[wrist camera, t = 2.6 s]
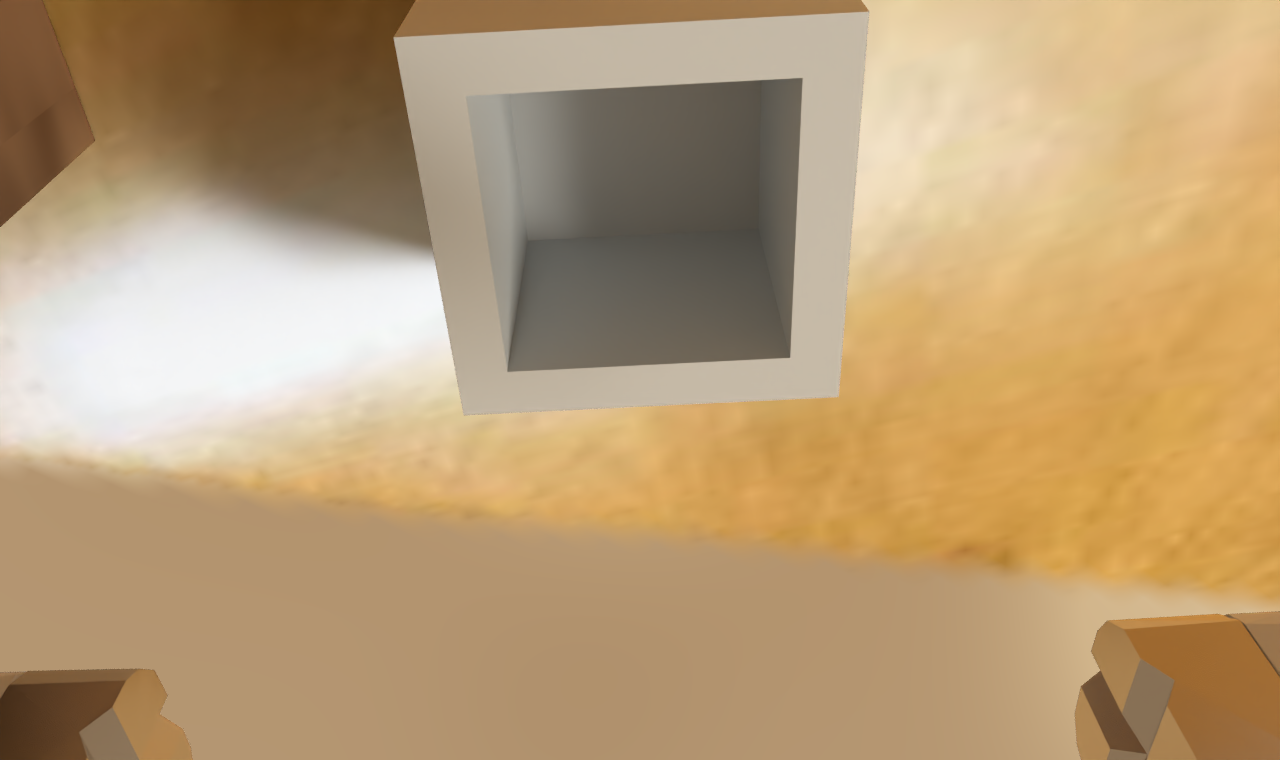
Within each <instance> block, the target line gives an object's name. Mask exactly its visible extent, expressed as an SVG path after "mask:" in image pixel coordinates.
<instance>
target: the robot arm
mask: <svg viewBox="0 0 1280 760" xmlns="http://www.w3.org/2000/svg"><path fill="white" fill-rule="evenodd" d="M1091 652H1092V654H1093V656H1094V658H1095V660H1096V662H1097V664H1098V667H1099V669H1100V671H1099V672H1098V673H1097V674H1096V675H1094V676H1093V677H1092V678H1091V679H1090V680H1089V681H1087V682H1086V683H1085V684H1083V685H1082V686H1081V688H1080V692H1079V697H1078V701H1077V705H1076V710H1075V725H1076V741H1077V747H1078V751H1079V754H1080V758H1081V760H1280V611H1278V612H1259V613H1240V614H1227V615H1220V614H1210V615H1192V616H1175V617H1159V618H1142V619H1126V620H1109V621H1106V622H1105V624H1104V625H1103V626H1102V627H1101V628H1100V629H1099V630H1098V631H1097V634H1096V637H1095V640H1094V643H1093V647H1092V650H1091ZM167 696H168V695H167V693H166V691H165V689H164V687H163V685H162V683H161V681H160V679H159V678H158V676H157V674H156V672H155V670H150V669H101V670H100V669H96V670H50V671H27V672H0V760H193V758H192V750H191V746H190V744H189V742H188V739H187V737H186V735H185V732H184V730H183V729H182V728H181V727H179V726H177V725H176V724H174V723H173V722H171V721H170V720H168V719H167V718H165V717H163V716H162V715H160V712H161V710H162V708H163V705H164V703H165V701H166V699H167Z"/></svg>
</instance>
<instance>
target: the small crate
mask: <svg viewBox="0 0 1280 760" xmlns="http://www.w3.org/2000/svg"><path fill="white" fill-rule="evenodd" d="M868 21H869V11H868V9H867V8H866V6H865V5H864V4H863V2H862V1H861V0H416V1H415V2H414V4H413V6H412V7H411V9H410V11H409V12H408V14H407V16H406V17H405V19H404V21H403V22H402V24H401V26H400V27H399V29H398V31H397V32H396V34H395V36H394V37H393V38H394V43H395V48H396V54H397V59H398V64H399V70H400V75H401V81H402V86H403V91H404V97H405V102H406V107H407V113H408V118H409V124H410V129H411V134H412V140H413V145H414V150H415V156H416V161H417V167H418V172H419V177H420V183H421V188H422V193H423V199H424V204H425V210H426V215H427V220H428V226H429V231H430V236H431V242H432V247H433V253H434V258H435V263H436V269H437V274H438V279H439V285H440V290H441V296H442V301H443V306H444V312H445V317H446V322H447V328H448V333H449V339H450V344H451V349H452V355H453V360H454V365H455V371H456V376H457V382H458V387H459V392H460V398H461V403H462V409H463V414H464V415H481V414H502V413H522V412H542V411H563V410H583V409H603V408H624V407H644V406H665V405H685V404H705V403H726V402H746V401H766V400H787V399H807V398H828V397H839V386H840V373H841V361H842V348H843V335H844V323H845V310H846V298H847V285H848V273H849V260H850V247H851V235H852V222H853V210H854V197H855V185H856V172H857V159H858V147H859V134H860V122H861V109H862V97H863V84H864V71H865V59H866V46H867V34H868Z"/></svg>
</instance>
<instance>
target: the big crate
mask: <svg viewBox="0 0 1280 760" xmlns="http://www.w3.org/2000/svg"><path fill="white" fill-rule="evenodd" d="M94 141H95V139H94V137H93V134H92V131H91V129H90V126H89V123H88V121H87V118H86V115H85V113H84V110H83V107H82V105H81V102H80V99H79V97H78V94H77V91H76V89H75V86H74V83H73V81H72V78H71V75H70V73H69V70H68V67H67V65H66V62H65V59H64V57H63V54H62V51H61V49H60V46H59V43H58V41H57V38H56V35H55V33H54V30H53V27H52V25H51V22H50V19H49V17H48V14H47V11H46V9H45V6H44V3H43V1H42V0H0V227H1V226H2V225H3V224H4V223H5V222H6V221H8V220H9V219H10V218H11V217H12V216H13V215H14V214H15V213H16V212H17V211H19V210H20V209H21V208H22V207H23V206H24V205H25V204H26V203H27V202H28V201H29V200H31V199H32V198H33V197H34V196H35V195H36V194H37V193H38V192H39V191H40V190H41V189H43V188H44V187H45V186H46V185H47V184H48V183H49V182H50V181H51V180H52V179H54V178H55V177H56V176H57V175H58V174H59V173H60V172H61V171H62V170H63V169H64V168H66V167H67V166H68V165H69V164H70V163H71V162H72V161H73V160H74V159H75V158H76V157H78V156H79V155H80V154H81V153H82V152H83V151H84V150H85V149H86V148H87V147H89V146H90V145H91V144H92V143H93V142H94Z"/></svg>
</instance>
